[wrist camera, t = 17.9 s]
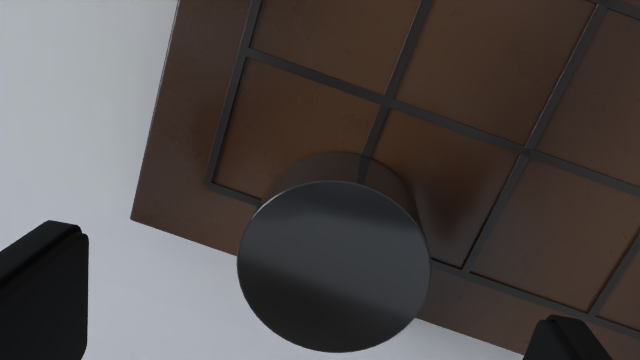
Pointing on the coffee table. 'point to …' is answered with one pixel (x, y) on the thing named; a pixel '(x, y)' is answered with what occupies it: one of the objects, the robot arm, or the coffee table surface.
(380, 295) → the dark gray cylinder
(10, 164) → the coffee table surface
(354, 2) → the board
